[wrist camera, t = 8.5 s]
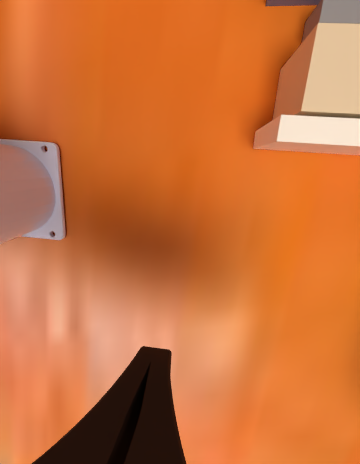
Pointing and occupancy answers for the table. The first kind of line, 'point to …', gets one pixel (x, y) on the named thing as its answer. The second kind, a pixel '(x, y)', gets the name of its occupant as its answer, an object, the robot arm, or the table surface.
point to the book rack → (320, 87)
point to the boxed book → (291, 2)
